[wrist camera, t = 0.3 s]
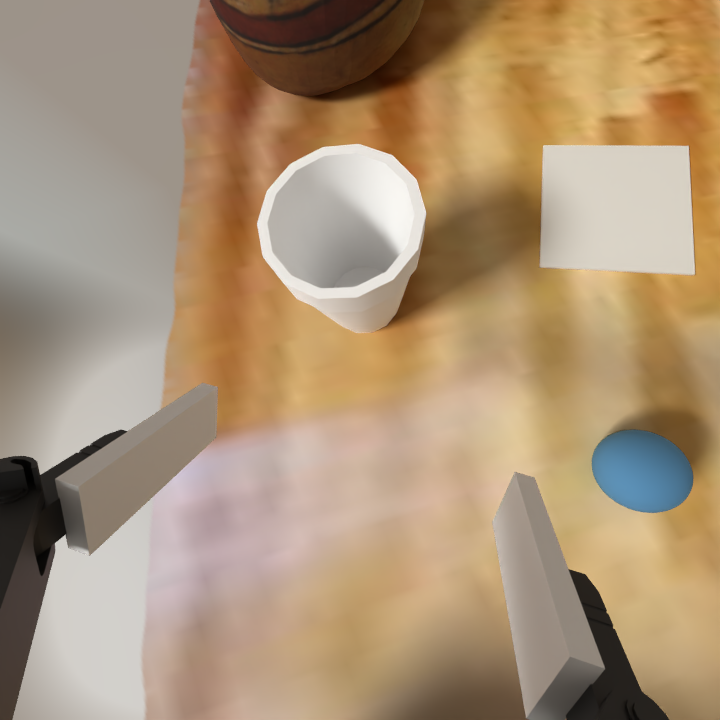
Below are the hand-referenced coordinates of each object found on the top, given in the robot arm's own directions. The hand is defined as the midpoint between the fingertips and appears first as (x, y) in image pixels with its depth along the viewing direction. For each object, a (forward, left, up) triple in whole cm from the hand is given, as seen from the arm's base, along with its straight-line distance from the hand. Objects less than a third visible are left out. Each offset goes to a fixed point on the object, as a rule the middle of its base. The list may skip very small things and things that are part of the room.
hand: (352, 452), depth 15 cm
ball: (0, -19, -12) cm, 22 cm away
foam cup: (+12, +2, -15) cm, 20 cm away
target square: (+22, -19, -15) cm, 33 cm away
